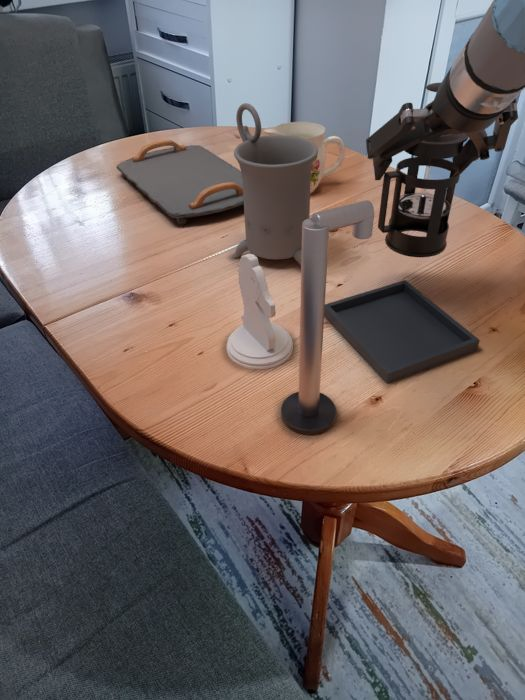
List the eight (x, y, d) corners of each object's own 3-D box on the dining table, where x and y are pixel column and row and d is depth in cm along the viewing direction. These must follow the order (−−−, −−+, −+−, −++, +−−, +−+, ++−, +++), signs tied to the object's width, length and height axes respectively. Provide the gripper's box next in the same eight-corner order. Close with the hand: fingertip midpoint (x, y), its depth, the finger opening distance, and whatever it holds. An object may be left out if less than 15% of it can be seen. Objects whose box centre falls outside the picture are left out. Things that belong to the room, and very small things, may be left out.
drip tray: (403, 289, 90) (405, 279, 89) (477, 350, 78) (480, 340, 76) (322, 315, 85) (322, 304, 84) (386, 384, 73) (388, 373, 72)
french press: (432, 225, 89) (462, 72, 74) (461, 252, 82) (500, 90, 67) (366, 234, 87) (382, 80, 73) (389, 263, 80) (413, 98, 65)
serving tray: (276, 205, 115) (276, 177, 111) (179, 235, 106) (174, 206, 102) (196, 151, 141) (193, 127, 137) (111, 172, 132) (106, 147, 128)
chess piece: (248, 379, 74) (242, 289, 65) (215, 341, 81) (205, 254, 71) (306, 353, 78) (308, 264, 68) (270, 319, 85) (267, 234, 75)
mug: (338, 258, 98) (348, 115, 82) (275, 287, 91) (273, 138, 75) (273, 222, 110) (271, 90, 93) (213, 245, 103) (200, 108, 87)
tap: (337, 382, 74) (354, 186, 55) (366, 416, 69) (395, 214, 50) (272, 406, 70) (267, 207, 52) (296, 443, 66) (300, 238, 47)
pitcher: (349, 194, 118) (355, 130, 110) (270, 203, 116) (268, 139, 107) (334, 175, 127) (338, 114, 118) (260, 183, 124) (258, 122, 115)
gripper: (376, 123, 57) (339, 198, 79) (592, 111, 58) (496, 189, 80) (370, 56, 58) (335, 149, 79) (583, 46, 59) (491, 140, 80)
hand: (416, 169), depth 80 cm, fingers closed on french press, 11 cm apart
